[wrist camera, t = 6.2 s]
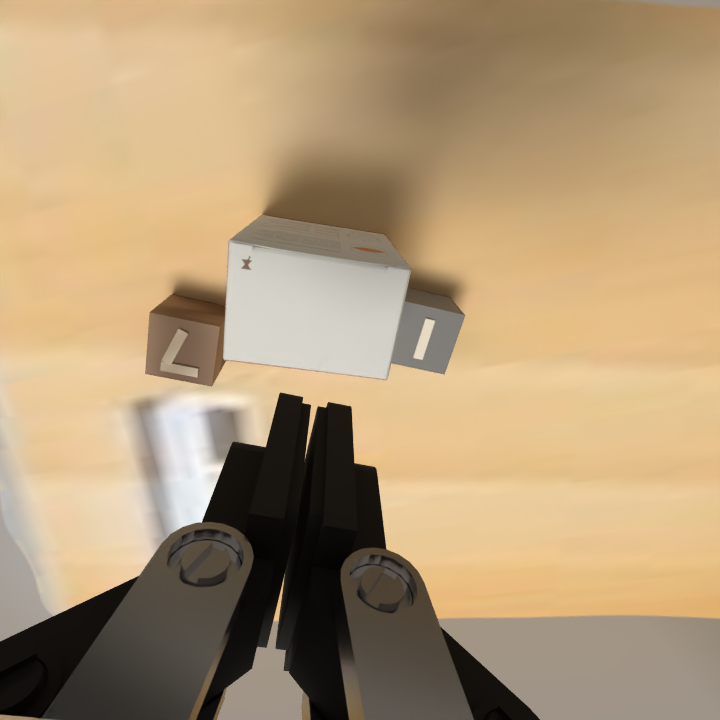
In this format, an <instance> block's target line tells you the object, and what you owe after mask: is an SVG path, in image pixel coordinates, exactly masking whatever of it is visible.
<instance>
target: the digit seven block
mask: <svg viewBox="0 0 720 720" xmlns="http://www.w3.org/2000/svg"><path fill="white" fill-rule="evenodd" d="M225 307H226V306H224V305H219V304H214V303H210V302H205V301H200V300H196V299H191V298H186V297H182V296H177V295H170V296H169V297H168V298H167V299H166V300H164V301H163V302H162V303H161V304H159V305H158V306H157V307H156V308H155V309H153V310H152V311H151V312H150V315H149V329H148V343H147V357H146V371H145V374H149V375H154V376H159V377H165V378H170V379H175V380H181V381H186V382H191V383H196V384H202V385H207V386H212V385H213V384H214V382H215V380H216V378H217V376H218V374H219V373H220V371H221V369H222V367H223V365H224V363H225V362H226V360H224V359H223V346H224V326H225Z"/></svg>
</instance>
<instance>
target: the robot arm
mask: <svg viewBox="0 0 720 720" xmlns="http://www.w3.org/2000/svg"><path fill="white" fill-rule="evenodd" d="M302 401H303V397H300V396H295V395H290V394H285V393H280V394H279V398H278V402H277V406H276V410H275V414H274V418H273V421H272V425H271V429H270V433H269V437H268V441H267V445H266V447H261V446H255V445H250V444H244V443H239V442H233V443H232V445H231V447H230V450H229V453H228V455H227V458H226V460H225V463H224V466H223V468H222V471H221V474H220V476H219V479H218V481H217V484H216V487H215V489H214V492H213V495H212V497H211V500H210V502H209V505H208V508H207V510H206V513H205V516H204V518H203V521H202V523H195V524H191V525H188V526H185V527H182V528H180V529H179V530H177V531H175V532H173V533H172V534H170V535H169V536H168V538H167V539H166V540H165V541H164V542H163V543H162V544H161V545H160V547H159V548H158V550H157V551H156V553H155V554H154V555H153V557H152V558H151V560H150V561H149V563H148V564H147V566H146V567H145V568H144V570H143V571H142V573H141V574H140V576H138V577H136V578H133V579H131V580H129V581H127V582H125V583H123V584H121V585H119V586H117V587H114V588H112V589H110V590H108V591H106V592H104V593H102V594H100V595H98V596H95V597H93V598H91V599H89V600H87V601H85V602H83V603H81V604H79V605H76V606H74V607H72V608H70V609H68V610H66V611H64V612H62V613H60V614H57V615H55V616H53V617H51V618H49V619H47V620H45V621H43V622H41V623H39V624H36V625H34V626H32V627H30V628H28V629H26V630H24V631H22V632H20V633H17V634H15V635H13V636H11V637H9V638H7V639H5V640H3V641H1V642H0V720H217V718H218V715H219V712H220V709H221V706H222V704H223V701H224V698H225V693H226V688H227V687H228V686H229V685H231V684H232V683H233V682H234V681H236V680H237V679H239V678H240V677H241V676H243V675H244V674H245V673H246V672H248V671H249V670H250V669H252V665H253V661H254V657H255V652H256V648H257V647H265V648H266V647H267V643H268V640H269V635H270V631H271V627H272V623H273V619H274V615H275V611H276V607H277V603H278V599H279V595H280V591H281V587H282V583H283V579H284V586H283V594H282V601H281V609H280V616H279V624H278V632H277V639H276V649H281V650H286V655H285V664H284V671H289V673H290V675H291V676H292V677H293V678H294V680H295V681H296V682H297V683H298V685H299V686H300V687H301V688H302V690H303V696H302V720H540V719H539V718H538V717H537V716H536V715H535V714H534V713H533V712H532V711H531V709H530V708H529V707H528V706H527V705H525V704H524V703H523V702H522V701H521V700H520V699H519V698H518V697H516V695H514V694H513V693H512V692H511V691H510V690H509V689H508V688H507V687H506V686H505V685H503V684H502V683H501V682H500V681H499V680H498V679H497V678H496V677H495V676H494V675H493V674H492V673H490V672H489V671H488V670H487V669H486V668H485V667H484V666H483V665H482V664H481V663H480V662H478V661H477V660H476V659H475V658H474V657H473V656H472V655H471V654H470V653H469V652H467V651H466V650H465V649H464V648H463V647H462V646H461V645H460V644H459V643H458V642H456V641H455V640H454V639H453V638H452V637H451V636H450V635H449V634H448V633H447V632H446V631H445V630H443V629H442V628H441V627H440V625H439V622H438V619H437V617H436V614H435V611H434V608H433V606H432V603H431V600H430V597H429V595H428V592H427V589H426V586H425V584H424V581H423V580H422V578H421V576H420V574H419V572H418V571H417V570H416V569H415V568H414V566H413V565H412V564H411V563H410V562H409V561H407V560H406V559H404V558H403V557H402V556H400V555H399V554H396V553H394V552H391V551H389V550H387V549H386V543H385V535H384V527H383V518H382V510H381V502H380V494H379V485H378V477H377V471H376V468H375V467H372V466H366V465H361V464H355V463H354V449H353V428H352V409H351V406H346V405H341V404H336V403H330V402H328V404H327V407H326V408H324V407H319V406H318V408H317V412H316V416H315V420H314V424H313V428H312V433H311V437H310V441H309V445H308V449H307V454H306V458H305V452H306V444H307V435H308V427H309V418H310V409H311V405H309V404H304V403H302ZM304 461H305V462H304ZM285 570H286V571H285ZM284 574H285V578H284Z"/></svg>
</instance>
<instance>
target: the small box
mask: <svg viewBox="0 0 720 720" xmlns="http://www.w3.org/2000/svg"><path fill="white" fill-rule="evenodd" d="M410 275H411V268H410V267H409V265H408V264H407V263H406V261H405V260H404V259H403V257H402V256H401V255H400V253H399V252H398V251H397V249H396V248H395V247H394V246H393V244H392V243H391V242H390V240H389V239H388V238H387V237H386V235H385V234H379V233H372V232H366V231H360V230H354V229H347V228H341V227H335V226H328V225H322V224H316V223H310V222H303V221H297V220H290V219H284V218H278V217H272V216H267V215H261V216H260V217H259V218H257V219H256V220H255V221H253V222H252V223H251V224H250V225H248V226H247V227H246V228H244V229H243V230H242V231H240V232H239V233H238V234H237V235H235V236H234V237H233V238H232V239H230V240H229V243H228V265H227V286H226V307H225V326H224V346H223V359H224V360H226V361H236V362H243V363H251V364H259V365H268V366H276V367H284V368H294V369H301V370H309V371H317V372H326V373H334V374H342V375H350V376H358V377H365V378H374V379H381V380H387V378H388V375H389V370H390V366H391V361H392V357H393V352H394V348H395V343H396V339H397V334H398V330H399V325H400V320H401V316H402V311H403V307H404V302H405V298H406V293H407V288H408V284H409V279H410Z"/></svg>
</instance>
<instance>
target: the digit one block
mask: <svg viewBox="0 0 720 720" xmlns="http://www.w3.org/2000/svg"><path fill="white" fill-rule="evenodd" d="M464 317H465V314H464V313H463V312H462V311H461V310H460V308H459V307H458V306H457V305H456V304H455V303H454V301H453V300H452V299H451V298H450V297H446V296H442V295H437V294H433V293H429V292H425V291H420V290H416V289H412V288H407V293H406V298H405V302H404V307H403V311H402V316H401V320H400V325H399V330H398V334H397V339H396V343H395V348H394V352H393V357H392V361H391V363H393V364H398V365H402V366H407V367H412V368H417V369H421V370H426V371H431V372H435V373H440V374H445V372H446V369H447V366H448V363H449V360H450V357H451V354H452V352H453V349H454V346H455V343H456V340H457V337H458V334H459V331H460V329H461V326H462V323H463V320H464Z"/></svg>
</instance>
